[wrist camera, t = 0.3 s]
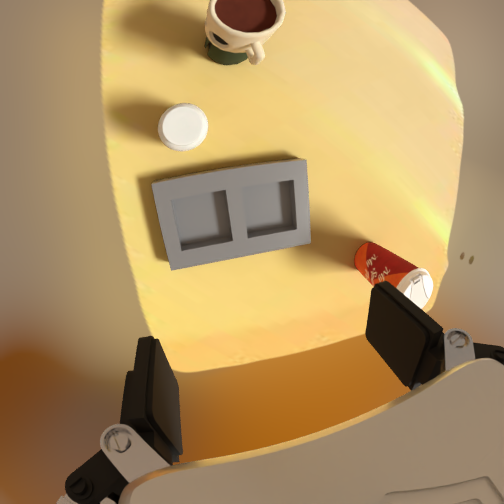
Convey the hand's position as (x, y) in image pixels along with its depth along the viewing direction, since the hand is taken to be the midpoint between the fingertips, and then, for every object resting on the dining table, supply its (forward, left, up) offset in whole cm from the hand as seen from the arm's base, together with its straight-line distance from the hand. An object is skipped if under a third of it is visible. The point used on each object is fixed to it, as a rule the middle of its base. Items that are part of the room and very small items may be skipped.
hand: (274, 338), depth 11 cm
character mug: (-20, +5, -29) cm, 36 cm away
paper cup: (+14, +25, -29) cm, 41 cm away
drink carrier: (+3, +3, -29) cm, 29 cm away
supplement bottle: (-10, -2, -29) cm, 31 cm away
